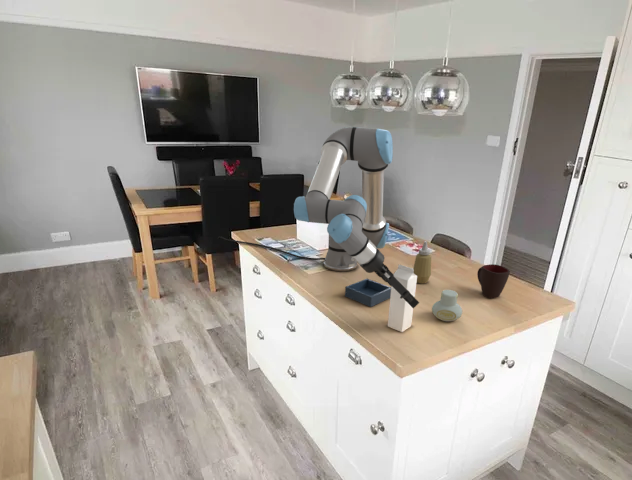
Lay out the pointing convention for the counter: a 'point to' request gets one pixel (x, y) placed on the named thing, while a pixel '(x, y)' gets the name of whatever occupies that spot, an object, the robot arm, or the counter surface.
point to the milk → (402, 300)
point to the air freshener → (447, 306)
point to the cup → (492, 279)
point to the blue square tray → (368, 292)
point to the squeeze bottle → (423, 264)
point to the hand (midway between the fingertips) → (407, 296)
